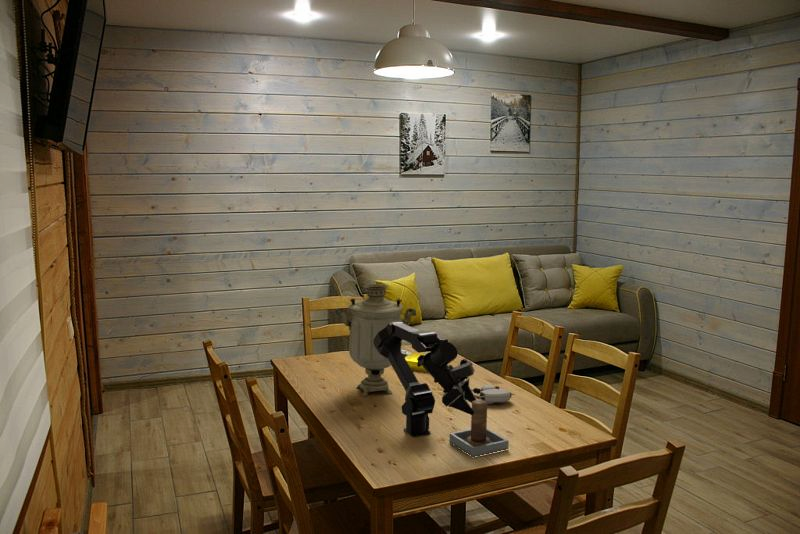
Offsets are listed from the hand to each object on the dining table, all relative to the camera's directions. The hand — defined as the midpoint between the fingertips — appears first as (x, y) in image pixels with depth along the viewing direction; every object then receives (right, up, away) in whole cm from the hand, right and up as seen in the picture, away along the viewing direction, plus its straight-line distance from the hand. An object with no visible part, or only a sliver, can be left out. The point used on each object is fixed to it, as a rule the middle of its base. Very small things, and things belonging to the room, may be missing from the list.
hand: (475, 408), depth 199 cm
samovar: (-31, -4, +55) cm, 63 cm away
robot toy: (+11, -6, +44) cm, 45 cm away
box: (+1, -12, +1) cm, 12 cm away
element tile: (-13, 0, +85) cm, 86 cm away
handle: (+1, -11, +1) cm, 11 cm away
